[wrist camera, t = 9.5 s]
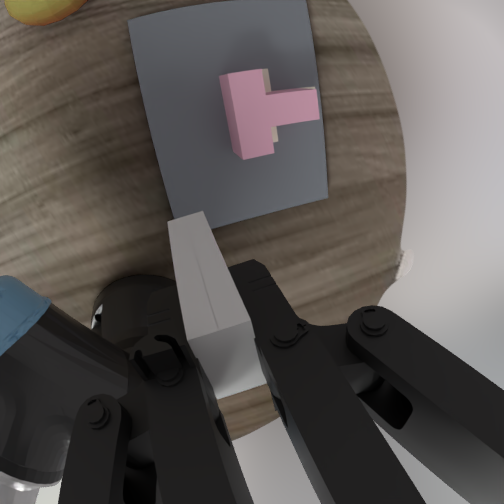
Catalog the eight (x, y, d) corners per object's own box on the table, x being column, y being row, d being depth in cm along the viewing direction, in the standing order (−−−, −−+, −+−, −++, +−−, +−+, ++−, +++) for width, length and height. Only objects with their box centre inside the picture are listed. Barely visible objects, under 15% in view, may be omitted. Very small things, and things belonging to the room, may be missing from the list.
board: (179, 233, 34) (180, 238, 33) (128, 23, 21) (127, 20, 20) (323, 194, 37) (327, 197, 36) (300, 1, 24) (305, -2, 23)
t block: (232, 151, 30) (243, 160, 26) (218, 76, 25) (227, 73, 22) (304, 136, 31) (322, 143, 28) (295, 65, 27) (313, 64, 23)
